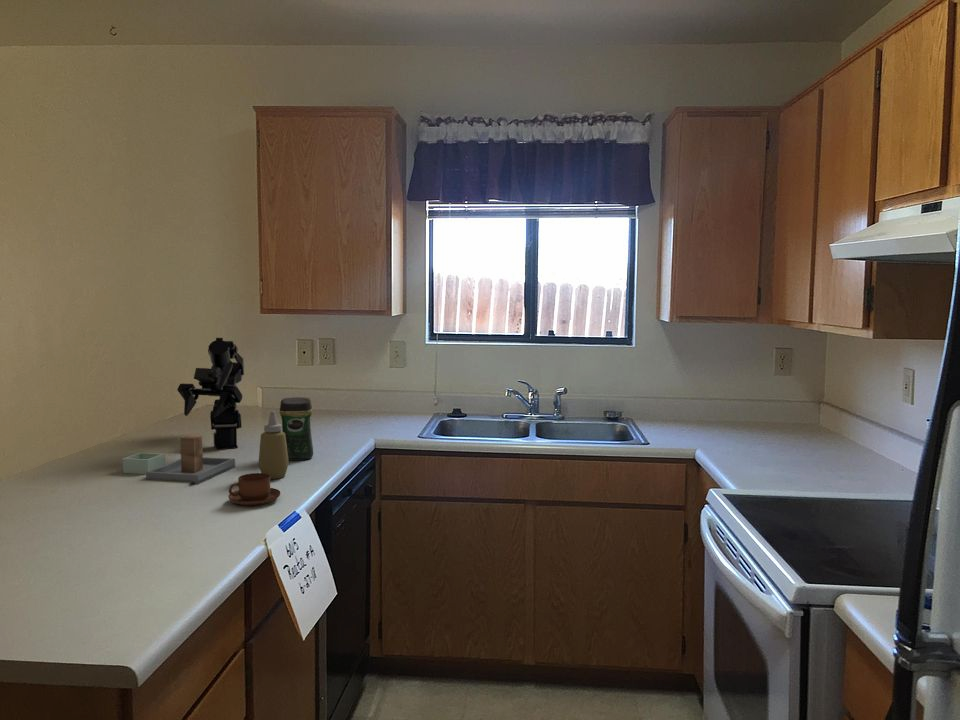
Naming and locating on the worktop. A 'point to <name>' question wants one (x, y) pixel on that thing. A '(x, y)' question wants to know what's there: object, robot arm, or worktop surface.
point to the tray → (174, 473)
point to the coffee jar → (297, 427)
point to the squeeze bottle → (273, 449)
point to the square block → (191, 454)
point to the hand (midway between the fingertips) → (199, 415)
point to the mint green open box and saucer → (253, 490)
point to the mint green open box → (143, 462)
